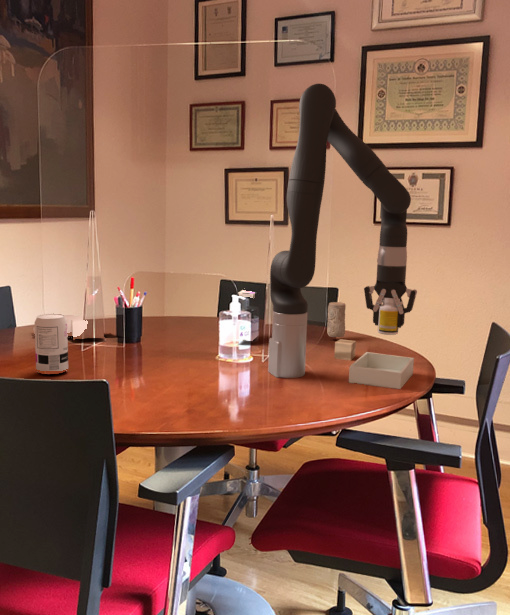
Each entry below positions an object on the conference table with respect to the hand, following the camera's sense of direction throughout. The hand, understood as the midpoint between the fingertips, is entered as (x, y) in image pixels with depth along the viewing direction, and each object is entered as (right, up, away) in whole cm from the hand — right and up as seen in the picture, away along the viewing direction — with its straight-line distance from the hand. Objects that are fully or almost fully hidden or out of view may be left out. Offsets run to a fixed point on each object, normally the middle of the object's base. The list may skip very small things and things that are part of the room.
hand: (388, 325), depth 166 cm
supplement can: (-90, -12, -1) cm, 90 cm away
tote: (-2, -14, -1) cm, 15 cm away
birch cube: (-9, -10, +22) cm, 25 cm away
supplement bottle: (0, -2, 0) cm, 2 cm away
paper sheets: (-99, -4, +49) cm, 111 cm away
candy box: (-38, -6, +45) cm, 59 cm away
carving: (-8, -6, +49) cm, 50 cm away
